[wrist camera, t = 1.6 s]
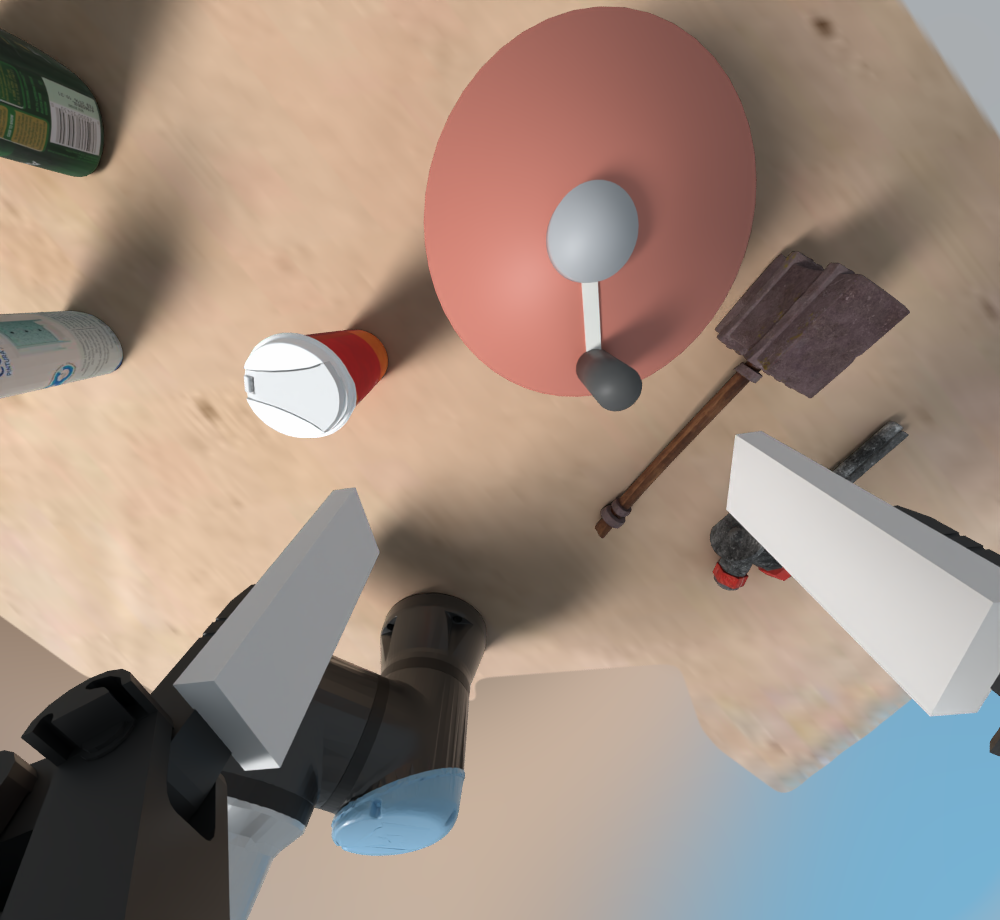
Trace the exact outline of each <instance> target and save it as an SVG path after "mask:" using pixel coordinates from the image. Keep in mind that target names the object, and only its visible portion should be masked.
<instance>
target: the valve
mask: <svg viewBox="0 0 1000 920" xmlns="http://www.w3.org/2000/svg"><path fill="white" fill-rule="evenodd" d="M902 429H903V427H902V426H901V425H899V424H898V423H896V422H893V421H889V422H888V423H887V424H886V425H884V426H883V427H882V428H881V429H880V430H879V431H878V432H877V433H875V434H874V435H873V436H872V437H871V438H870V439H869V440H867V441H866V442H865V443H864V444H863V445H862V446H861V447H860V448H858V449H857V450H856V451H855V452H854V453H853V454H852V455H851V456H849V457H848V458H847V459H846V460H845V461H844V462H843V463H841V464H840V465H839V466H838V467H837V468H836V469H835V470H834V471H832V472H834V473H836V474H838V475H839V476H841V477H843V478H845V479H846V480H848V481H850V482H852V483H854V482H855V481H856V480H857V479H858V478H859V477H861V476H862V475H863V474H864V473H865V472H866V471H868V470H869V469H870V468H871V467H872V466H873V465H875V464H876V463H877V462H878V461H879V460H880V459H882V458H883V457H884V456H885V455H886V454H887V453H889V452H890V451H891V450H892V449H893V448H894V447H896V446H897V445H898V444H899V443H900V442H902V441H903V440H904V439H905V438H906V437H907V436H909V435H908V434H907V433H906V432H904V431H901V430H902ZM710 542H711V546H712V548H713V549H714V551H715V552H716V553H717V554H718V555H719V556H721V559H720V561H719V562H717V564H716V566H715V568H714V570H713V573H714V579H715V581H716V582H717V584H718V585H719V586H720V587H722V588H723V589H726V590H737V589H738V588H739V587H742V586H744V584H745V582H746V580H747V578H748V575H747V573H748V572H749V570H750V568H751V566H752V564H754V565H756V566H758V568H759V570H760V571H762V572H764V573H765V574H767V575H769V576H772V577H775V578H777V579H780V580H783V581H785V580H786V579H787V578H789V577H791V575H790V574H789V573H788V572H787V571H786V570H785V569H784V567H783V566H782V565H781V564H780V563H779V562H778V561H777V560H776V559H775V558H774V557H773V556H772V555H771V554H770V553H769V552H768V551H767V550H766V549H765V548H764V547H763V546H762V545H761V544H760V543H759V542H758V541H757V540H756V539H755V538H754V537H753V536H752V535H751V534H750V533H749V532H748V531H747V530H746V529H745V528H744V527H743V526H742V525H741V524H740V523H739V522H738V521H737V520H736V519H735V518H734V517H733V516H732V515H731V514H730V513H729V514H728V515H726V516H725V517H724V518H723V519H722V520H721V521H719V522H718V523H717V524H716V525H715V526H714V527H713V528H712V530H711V534H710Z"/></svg>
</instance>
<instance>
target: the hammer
mask: <svg viewBox="0 0 1000 920" xmlns="http://www.w3.org/2000/svg"><path fill="white" fill-rule="evenodd" d="M909 313H910V311H909V310H908V309H907V308H906V307H905V306H904V305H903V304H901V303H900V302H899V301H898V300H896V299H895V298H894V297H893V296H891V295H890V294H888V293H887V292H886V291H884V290H883V289H882V288H880V287H879V286H877V285H876V284H875V283H873V282H872V281H870V280H869V279H867V278H866V277H865V276H863V275H860V274H854V272H853V271H852V270H850V269H847V268H846V267H845V266H843V265H841V264H840V263H830V264H829V265H828V266H827V268H826V269H825V270H824V269H823V267H822V266H820V265H818V264H816V263H814V262H813V260H812V259H810V258H808V257H806V256H805V255H803V254H802V253H800V252H794V251H793V252H791V253H790V254H789V255H788V257H787V258H786V257H785V256H783V255H782V254H780V255H779V256H778V257H777V258H776V259H775V260H774V261H773V262H772V263H771V264H770V265H769V266H768V267H767V269H766V270H765V271H764V272H763V273H762V274H761V276H760V277H759V278H758V279H757V280H756V281H755V282H754V284H753V285H752V286H751V287H750V288H749V289H748V291H747V292H746V293H745V294H744V295H743V296H742V298H741V299H740V300H739V301H738V302H737V303H736V305H735V306H734V307H733V308H732V309H731V310H730V312H729V313H728V314H727V315H726V316H725V317H724V319H723V320H722V321H721V322H720V323H719V324H718V326H717V327H716V328H715V331H717V332H718V333H719V334H718V335H717V338H718V339H719V340H720V341H721V342H722V343H724V344H725V345H726V347H728V348H729V349H733V350H735V352H736V353H738V354H739V355H743V356H744V357H745V358H746V359H747V360H748V361H747V362H746V363H741V364H740V365H738V366H737V367H736V368H735V370H736V371H737V372H736V374H735V375H734V376H733V377H732V378H731V379H730V380H729V381H728V382H727V383H726V384H725V385H724V386H723V387H722V388H721V389H720V390H719V391H718V392H717V393H716V395H715V396H714V397H713V398H712V399H711V400H710V401H709V402H708V403H707V404H706V405H705V406H704V407H703V408H702V409H701V410H700V411H699V412H698V413H697V414H696V416H695V417H694V418H693V419H692V420H691V421H690V422H689V423H688V424H687V425H686V426H685V427H684V428H683V429H682V430H681V432H680V433H679V434H678V435H677V436H676V437H675V438H674V439H673V440H672V441H671V442H670V443H669V444H668V445H667V447H666V448H665V449H664V450H663V451H662V452H661V453H660V454H659V455H658V456H657V457H656V459H655V460H654V461H653V462H652V463H651V464H650V465H649V466H648V467H647V468H646V469H645V471H644V472H643V473H642V474H641V475H640V476H639V477H638V478H637V479H636V481H635V482H634V483H633V484H632V485H631V486H630V487H629V488H628V489H627V491H626V492H625V493H624V494H623V495H622V496H621V497H620V498H616V499H615V500H614V501H613V502H612V504H611V505H612V506H611V505H608V506H606V507H605V508H603V509H602V510H601V516H602V519H601V520H600V521H599V522H598V523H597V525H596V526H595V529H596V530H597V532H598V534H599V536H600V537H601V538H604V537H605V536H606V535H607V533H608V532H609V531H610V530H611V529H612V527H613V528H619V527H621V526H622V525H623V524H624V523H625V517H626V516H627V515H629V514H630V512H631V506H632V505H633V504H634V503H635V501H636V500H637V499H638V498H639V497H640V496H641V495H642V494H643V493H644V491H645V490H646V489H647V488H648V487H649V486H650V485H651V484H652V483H653V482H654V481H655V480H656V478H657V477H658V476H659V475H660V474H661V473H662V472H663V471H664V470H665V469H666V468H667V467H668V466H669V465H670V464H671V462H672V461H673V460H674V459H675V458H676V457H677V456H678V455H679V454H680V453H681V452H682V451H683V450H684V449H685V448H686V447H687V446H688V445H689V444H690V442H691V441H692V440H693V439H694V438H695V437H696V436H697V435H698V434H699V433H700V432H701V431H702V430H703V429H704V428H705V427H706V426H707V425H708V424H709V423H710V422H711V421H712V420H713V419H714V418H715V417H716V416H717V415H718V413H719V412H720V411H721V410H722V409H723V408H724V407H725V406H726V405H727V404H728V403H729V402H730V401H731V400H732V399H733V398H734V397H735V396H736V395H737V394H738V393H739V392H740V391H741V390H742V389H743V388H744V387H745V386H746V384H747V383H748V382H749V381H751V382H753V383H756V382H757V381H758V380H759V379H760V378H761V377H762V375H761V374H760V373H759V371H760V370H761V369H762V370H763V372H764V373H766V374H767V375H771V376H773V377H774V378H775V379H776V380H777V381H779V382H783V383H784V384H785V385H786V386H787V387H789V388H792V389H794V390H796V391H797V392H799V393H801V394H804V395H805V396H807V397H808V398H812V397H813V396H814V395H816V394H817V393H818V392H819V391H820V390H821V389H823V388H824V387H825V386H826V385H827V384H828V383H830V382H831V381H832V380H833V379H834V378H835V377H836V376H838V375H839V374H840V373H841V372H842V371H843V370H845V369H846V368H847V367H848V366H849V365H850V364H851V363H852V362H853V361H854V359H855V358H856V357H857V356H859V355H861V354H863V353H864V352H865V351H866V350H867V349H869V348H870V347H871V346H872V345H873V344H874V343H876V342H877V341H878V340H879V339H880V338H881V337H882V336H884V335H885V334H886V333H887V332H888V331H889V330H890V329H892V328H893V327H894V326H895V325H896V324H897V323H898V322H900V321H901V320H902V319H903V318H904V317H905V316H907V315H908V314H909Z"/></svg>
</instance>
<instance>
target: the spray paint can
mask: <svg viewBox="0 0 1000 920" xmlns="http://www.w3.org/2000/svg"><path fill="white" fill-rule="evenodd" d="M122 359H123V351H122V348H121V344H120V342H119V340H118V338H117V337H116V335H115V334H114V332H113V331H112V330H111V329H110V328H109V327H108V326H107V325H106V324H105V323H104V322H102V321H101V320H100V319H98V318H96V317H94V316H93V315H90V314H87V313H84V312H76V311H58V312H38V313H18V314H0V399H1V398H5V397H9V396H14V395H18V394H22V393H27V392H31V391H35V390H40V389H44V388H48V387H53V386H57V385H61V384H66V383H70V382H74V381H79V380H83V379H87V378H92V377H96V376H100V375H105V374H109V373H111V372H113V371H115V370H116V369H118V367H119V366H120V365H121V363H122Z"/></svg>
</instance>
